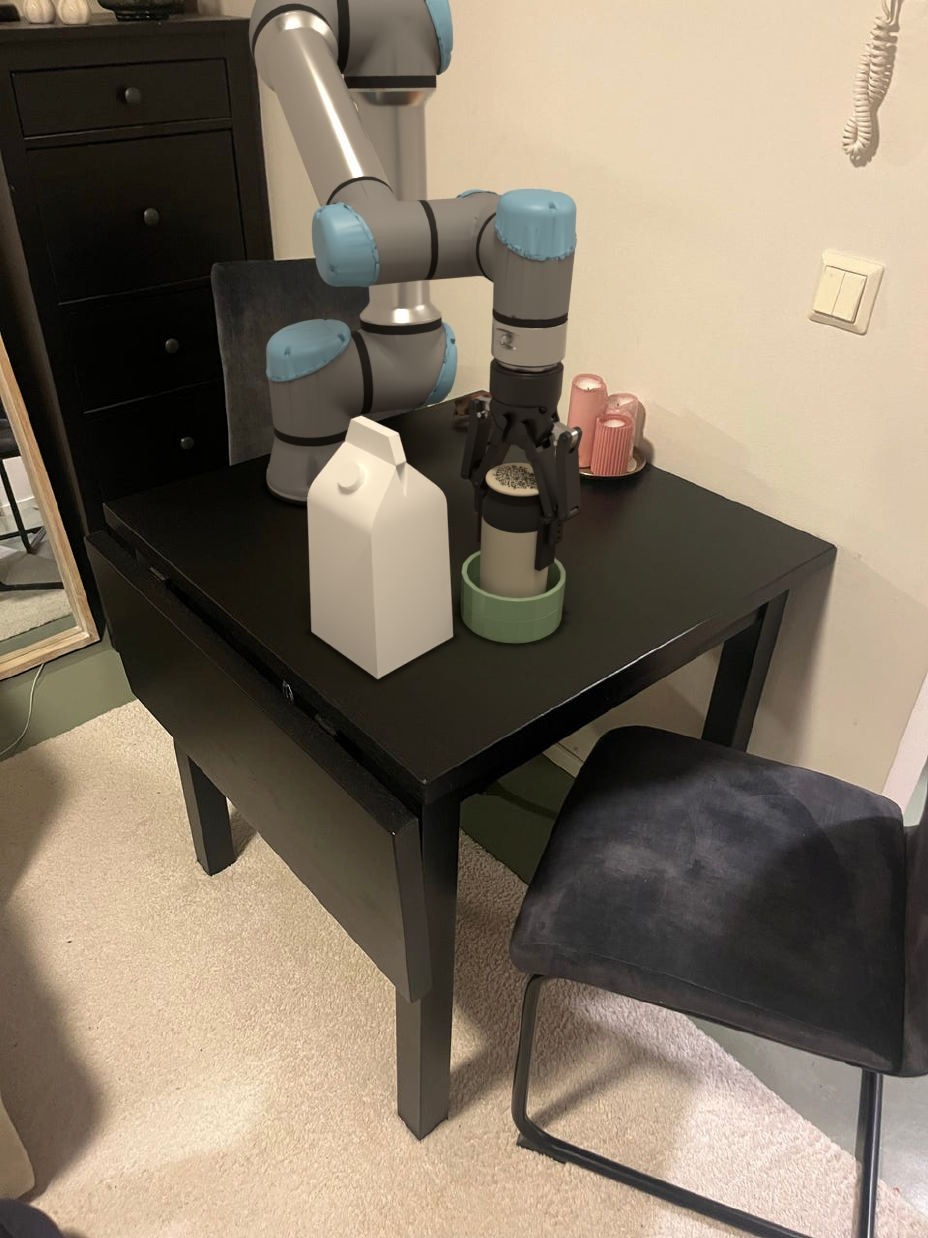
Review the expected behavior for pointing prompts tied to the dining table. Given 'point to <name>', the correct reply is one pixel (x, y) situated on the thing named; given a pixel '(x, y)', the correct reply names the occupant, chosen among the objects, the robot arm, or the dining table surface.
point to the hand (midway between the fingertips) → (514, 551)
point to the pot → (511, 607)
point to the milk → (378, 553)
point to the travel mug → (511, 533)
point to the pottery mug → (463, 409)
